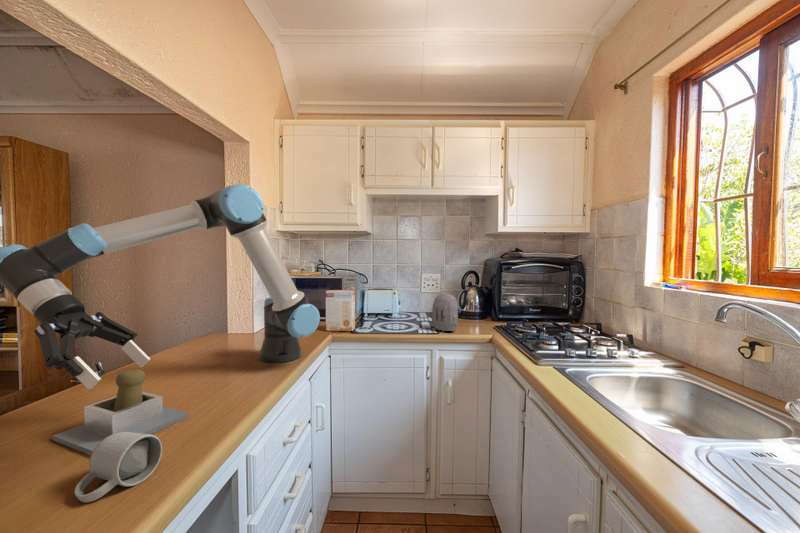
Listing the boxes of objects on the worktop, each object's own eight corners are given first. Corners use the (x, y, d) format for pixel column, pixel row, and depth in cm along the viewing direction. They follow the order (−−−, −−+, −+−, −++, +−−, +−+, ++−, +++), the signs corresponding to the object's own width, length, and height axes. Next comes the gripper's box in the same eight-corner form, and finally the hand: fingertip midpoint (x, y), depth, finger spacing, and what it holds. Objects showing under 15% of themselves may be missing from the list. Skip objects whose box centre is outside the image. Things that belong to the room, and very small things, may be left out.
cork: (114, 416, 79) (119, 368, 79) (146, 413, 82) (150, 366, 82) (105, 427, 73) (110, 375, 74) (140, 423, 76) (144, 373, 76)
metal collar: (135, 410, 83) (135, 389, 83) (162, 417, 79) (162, 396, 79) (84, 429, 74) (84, 406, 73) (112, 439, 70) (112, 415, 70)
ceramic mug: (131, 460, 64) (129, 420, 64) (164, 468, 62) (162, 427, 62) (61, 499, 54) (59, 452, 54) (97, 511, 52) (95, 462, 51)
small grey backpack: (460, 332, 174) (461, 293, 174) (450, 335, 168) (451, 294, 168) (437, 327, 185) (438, 291, 184) (427, 330, 179) (427, 292, 179)
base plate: (145, 405, 88) (145, 401, 88) (188, 417, 82) (188, 413, 82) (52, 440, 71) (52, 435, 71) (97, 458, 65) (97, 453, 65)
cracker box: (355, 330, 178) (355, 290, 178) (352, 332, 172) (352, 291, 172) (329, 329, 180) (329, 289, 179) (325, 331, 174) (325, 290, 173)
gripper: (92, 307, 88) (151, 366, 88) (-30, 328, 63) (53, 409, 63) (113, 287, 88) (172, 346, 88) (-2, 299, 63) (81, 381, 63)
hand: (122, 372), depth 76 cm, fingers open, 13 cm apart
